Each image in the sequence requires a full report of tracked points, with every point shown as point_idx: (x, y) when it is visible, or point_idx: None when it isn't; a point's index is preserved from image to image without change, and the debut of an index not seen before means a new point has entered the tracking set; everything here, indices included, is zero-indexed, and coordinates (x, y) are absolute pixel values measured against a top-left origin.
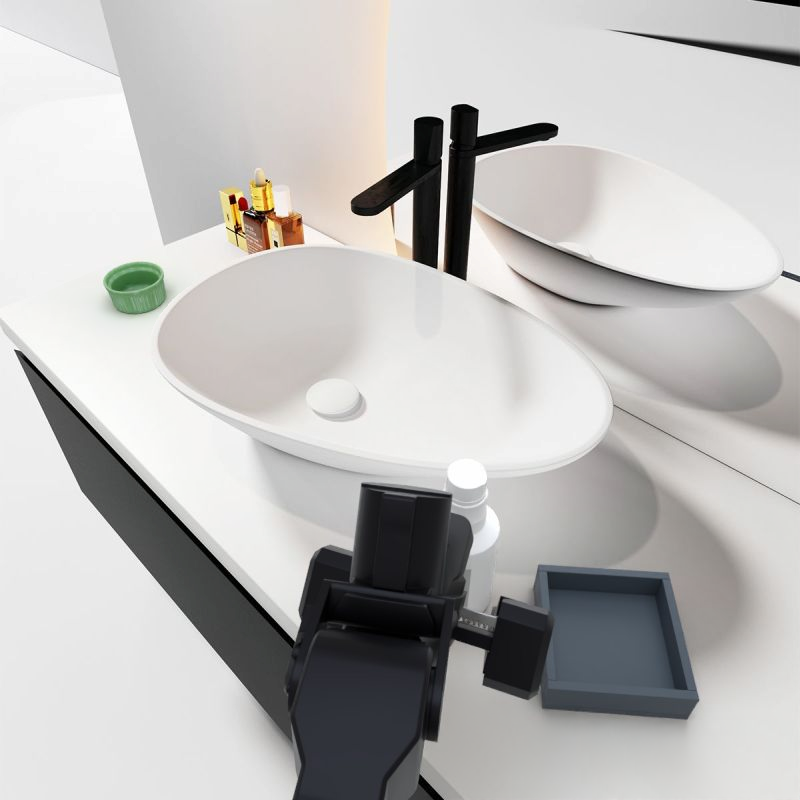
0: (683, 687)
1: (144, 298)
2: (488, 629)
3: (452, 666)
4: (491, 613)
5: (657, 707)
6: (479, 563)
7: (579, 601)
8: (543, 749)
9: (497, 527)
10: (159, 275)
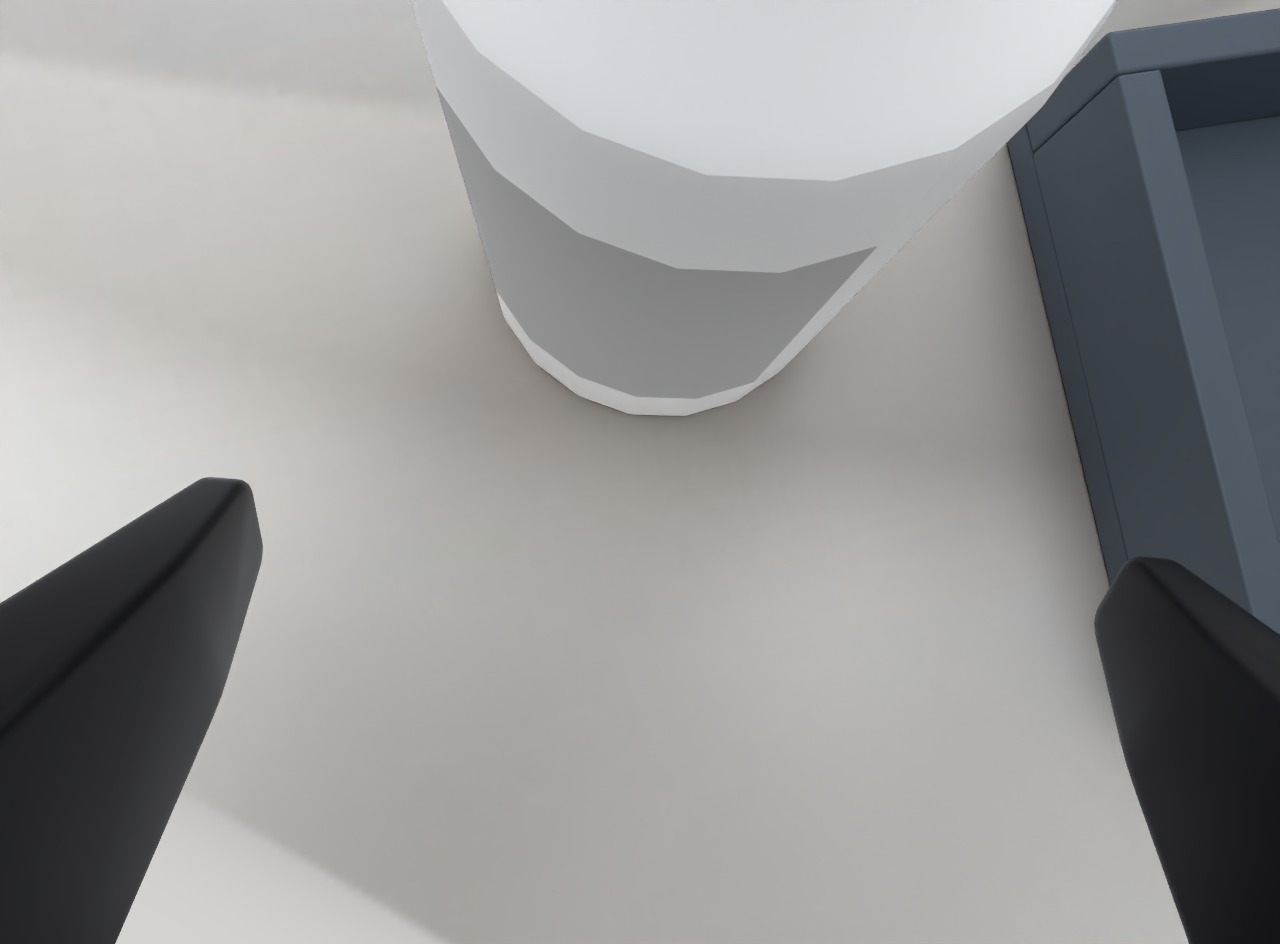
0: None
1: None
2: (1224, 885)
3: (718, 641)
4: (1232, 730)
5: None
6: (955, 185)
7: (1240, 179)
8: (1177, 912)
9: None
10: None
